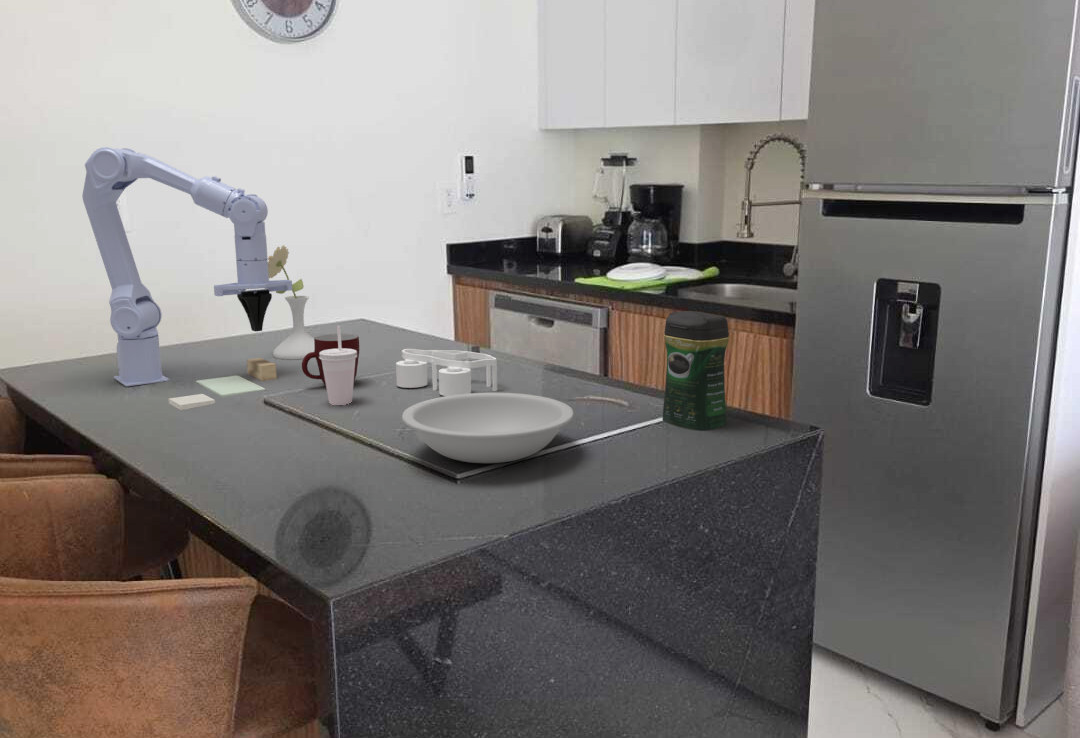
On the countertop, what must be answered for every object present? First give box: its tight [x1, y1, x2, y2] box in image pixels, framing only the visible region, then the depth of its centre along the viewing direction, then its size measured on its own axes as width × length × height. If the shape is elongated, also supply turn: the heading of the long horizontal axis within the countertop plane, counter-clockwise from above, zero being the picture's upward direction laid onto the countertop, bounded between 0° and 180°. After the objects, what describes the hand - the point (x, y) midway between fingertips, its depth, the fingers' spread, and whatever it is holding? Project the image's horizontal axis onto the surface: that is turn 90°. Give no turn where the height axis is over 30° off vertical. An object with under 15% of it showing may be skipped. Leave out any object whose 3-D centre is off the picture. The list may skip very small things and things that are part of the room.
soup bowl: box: [401, 392, 575, 464], centre depth 132 cm, size 24×24×7 cm
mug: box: [301, 333, 360, 387], centre depth 173 cm, size 11×8×10 cm
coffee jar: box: [662, 310, 730, 432], centre depth 144 cm, size 10×8×19 cm
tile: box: [168, 393, 216, 411], centre depth 164 cm, size 1×6×6 cm
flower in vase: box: [267, 244, 315, 361], centre depth 199 cm, size 13×11×25 cm
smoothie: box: [319, 325, 357, 406], centre depth 160 cm, size 6×6×14 cm
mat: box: [195, 374, 266, 398], centre depth 176 cm, size 15×8×1 cm, turn 37°
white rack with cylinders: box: [395, 348, 498, 397], centre depth 170 cm, size 20×11×7 cm, turn 51°
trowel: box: [246, 357, 278, 382], centre depth 180 cm, size 15×5×4 cm, turn 37°
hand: (256, 330), depth 180 cm, fingers closed
